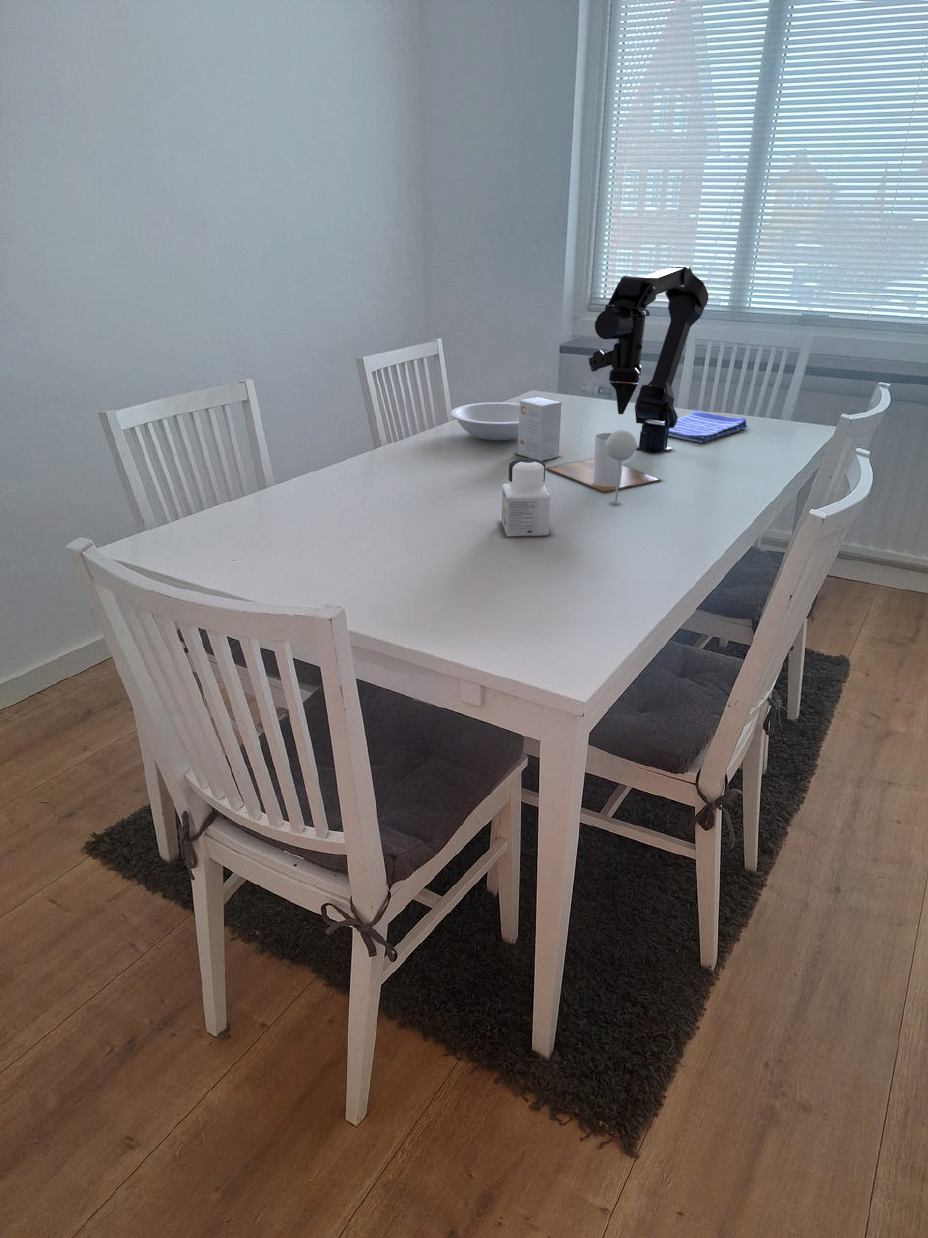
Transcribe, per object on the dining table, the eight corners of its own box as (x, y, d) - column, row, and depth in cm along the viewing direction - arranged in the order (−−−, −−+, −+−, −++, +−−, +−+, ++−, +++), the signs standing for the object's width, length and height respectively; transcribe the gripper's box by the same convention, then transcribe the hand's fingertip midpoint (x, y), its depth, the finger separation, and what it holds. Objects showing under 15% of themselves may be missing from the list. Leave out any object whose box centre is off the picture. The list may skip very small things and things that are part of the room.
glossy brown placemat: (600, 459, 193) (600, 457, 193) (660, 480, 178) (660, 479, 178) (546, 469, 186) (546, 467, 185) (604, 492, 170) (604, 490, 170)
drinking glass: (626, 480, 177) (630, 435, 172) (617, 489, 171) (621, 442, 167) (596, 476, 179) (600, 431, 175) (587, 484, 174) (590, 438, 169)
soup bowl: (485, 422, 225) (485, 398, 222) (560, 435, 213) (562, 410, 210) (432, 440, 208) (431, 414, 205) (511, 455, 195) (511, 428, 192)
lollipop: (633, 501, 165) (641, 428, 159) (628, 510, 160) (636, 435, 154) (603, 498, 167) (609, 425, 160) (597, 507, 162) (603, 432, 155)
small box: (559, 457, 195) (562, 402, 189) (540, 461, 191) (542, 405, 185) (535, 450, 200) (538, 396, 194) (516, 454, 196) (518, 399, 191)
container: (501, 522, 154) (503, 455, 148) (541, 521, 155) (545, 454, 149) (506, 537, 147) (508, 467, 141) (548, 536, 148) (552, 466, 142)
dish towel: (748, 428, 221) (750, 418, 219) (703, 444, 206) (704, 433, 204) (693, 418, 232) (694, 408, 230) (645, 432, 217) (647, 421, 215)
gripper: (596, 334, 187) (589, 403, 193) (588, 338, 171) (581, 414, 177) (645, 336, 185) (636, 406, 191) (642, 341, 168) (633, 418, 174)
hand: (621, 411), depth 183 cm, fingers open, 9 cm apart
